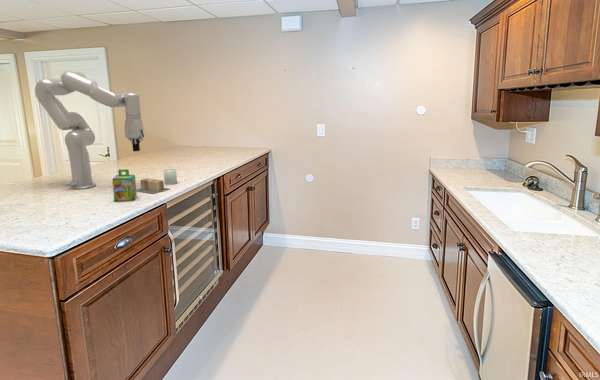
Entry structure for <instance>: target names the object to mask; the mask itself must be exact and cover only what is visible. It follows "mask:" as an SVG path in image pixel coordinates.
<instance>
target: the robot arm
mask: <svg viewBox="0 0 600 380" xmlns="http://www.w3.org/2000/svg"><path fill="white" fill-rule="evenodd" d="M75 92H78V93H80V94H82V95H84V96H88V97H89V98H90V99H92V100H93V101H95V102H97V103H99V104H101V105H103V106H107V107H109V108H124V112H125V113H124V114H125V120H124V136H125V138H126V139H127V140H129V141H130V142H131V144H132V151H133V152H140V151H141V147H140V144H141V142H142V141H144V137H145V131H144V129H145V128H144V125H143V121H142V114H141V113H142V112H141V102H140V101H141V100H140V95H139V94H138V93H134V92H130V93H129V92H128V93H127V92H126V93H124V92H112V91H108V90H106V89H104V88H102V87H100V86H99V85H98V82H96V81H95V80H93V79H90V78H89V77H87V76H86V75H85V74H84V73H82V72H80V71H71V70H70V71H69V70H67V71H64V72H63V73H62V74H61V75H60V78H58V79H56V78H42V79H40V80H38V81H37V83H36V84H35V87H34V95H35V97H36V99H37V101H38V103H40V105H41V106H42V107H43V109H44V110H45V111H46V112H47V114H48V115H49V117H50V118H51V119H52V121H53V122H54V124H55V125H56V127H57V128H58V129H59V130H62V131H68V132H67V133H66V134H65V136H64V143H65V146H66V150H67V152H68V159H69V165H70V171H71V178H72V179H70V182H64V183H63V186H64V187H65V188H66V187H70V189H72V190H87V189H91V188H94V187H96V185H97V184H96V183H95V182H93V176H92V169H91V168H92V167H91V161H90V153H89V152H88V149H87V147H89V146H92V145H93V144H94V143H95V141H96V136H95V133H94V131H93V130H92V128H91V127H90V125H89V124H88V122H87V121H86V120H85V118H84V117H83V116H82V115H81V114H80V113H78V112H75V111H68V110H67V108H66V107H65V106H64V104H63V103H62V102H61V101H60V100H59V99H58V98H57V97H56V96H67V95H70V94H72V93H75Z"/></svg>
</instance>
